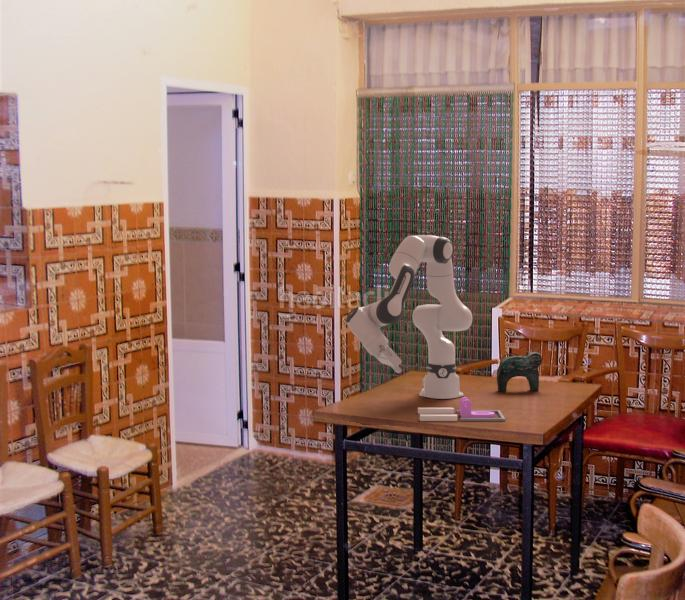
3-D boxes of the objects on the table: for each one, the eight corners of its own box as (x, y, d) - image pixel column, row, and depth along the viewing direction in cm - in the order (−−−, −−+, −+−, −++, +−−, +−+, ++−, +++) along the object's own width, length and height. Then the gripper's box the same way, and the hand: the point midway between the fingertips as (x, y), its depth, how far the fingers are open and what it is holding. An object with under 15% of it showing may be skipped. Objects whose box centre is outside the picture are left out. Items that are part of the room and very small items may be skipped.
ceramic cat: (539, 389, 432) (540, 344, 430) (543, 391, 426) (544, 346, 424) (495, 390, 430) (495, 344, 428) (499, 393, 423) (499, 347, 421)
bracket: (461, 418, 375) (461, 400, 375) (459, 414, 381) (460, 397, 380) (495, 418, 375) (495, 400, 374) (493, 414, 381) (493, 397, 380)
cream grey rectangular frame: (417, 412, 384) (417, 407, 384) (499, 412, 384) (499, 407, 383) (420, 421, 369) (420, 415, 369) (505, 421, 369) (505, 416, 369)
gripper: (390, 341, 365) (413, 369, 368) (376, 337, 385) (398, 364, 388) (378, 352, 364) (401, 380, 367) (364, 348, 384) (386, 374, 387)
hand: (399, 371), depth 377 cm, fingers closed
